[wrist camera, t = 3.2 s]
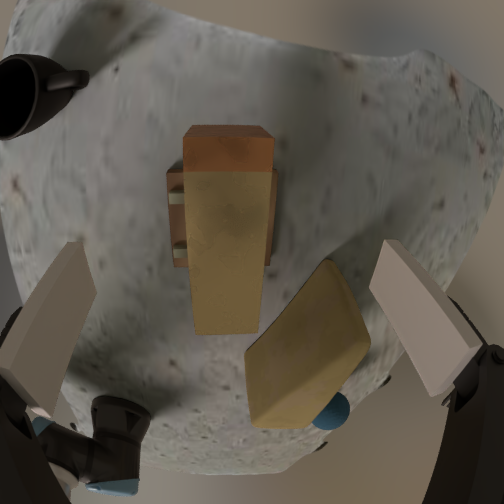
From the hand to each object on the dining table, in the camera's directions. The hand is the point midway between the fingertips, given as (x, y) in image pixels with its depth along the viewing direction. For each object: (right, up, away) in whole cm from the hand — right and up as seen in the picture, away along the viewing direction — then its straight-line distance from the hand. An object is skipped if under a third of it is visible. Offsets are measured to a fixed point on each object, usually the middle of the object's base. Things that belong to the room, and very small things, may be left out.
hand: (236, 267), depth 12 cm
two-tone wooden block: (-2, +5, +14) cm, 15 cm away
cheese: (+7, -9, +32) cm, 34 cm away
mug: (-20, +19, +11) cm, 30 cm away
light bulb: (+15, -26, +44) cm, 54 cm away
